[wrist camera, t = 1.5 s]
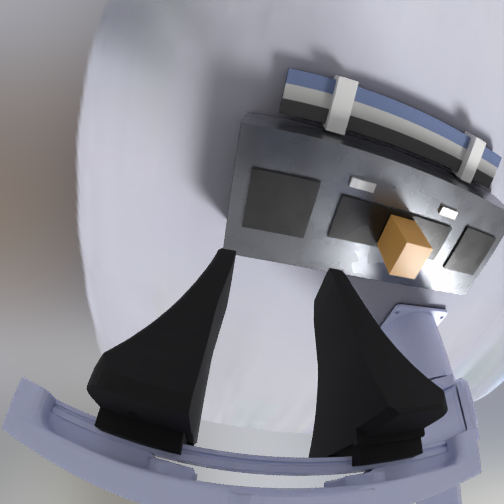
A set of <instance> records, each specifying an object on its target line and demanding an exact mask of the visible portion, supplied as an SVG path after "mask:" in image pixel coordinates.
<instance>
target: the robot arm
mask: <svg viewBox="0 0 504 504" xmlns="http://www.w3.org/2000/svg"><path fill="white" fill-rule="evenodd" d="M235 256H236V251H234V250H229V249H223V248H221V249H219V250H218V252H217V254H216V255H215V257H214V259H213V260H212V262H211V263H210V264H209V266H208V267H207V268H206V270H205V271H204V272H203V273H202V275H201V276H200V277H199V278H198V280H197V281H196V282H195V283H194V284H193V285H192V286H191V288H190V289H189V290H188V291H187V292H186V293H185V294H184V295H183V296H182V297H181V298H180V299H179V300H178V301H177V302H176V303H175V304H174V305H173V306H172V307H171V308H169V309H168V310H167V311H166V312H165V313H164V314H162V315H161V316H160V317H159V318H158V319H156V320H155V321H154V322H152V323H151V324H150V325H148V326H147V327H146V328H144V329H143V330H141V331H140V332H138V333H137V334H135V335H134V336H132V337H131V338H129V339H128V340H126V341H124V342H122V343H121V344H119V345H117V346H115V347H114V348H112V349H110V350H108V351H106V352H105V353H103V355H102V356H101V358H100V359H99V361H98V363H97V365H96V366H95V368H94V371H93V373H92V375H91V377H90V380H89V382H88V385H87V391H88V393H89V394H90V396H91V397H92V398H93V399H94V400H95V402H96V403H97V404H98V405H99V406H100V410H99V413H98V416H97V417H95V416H92V415H90V414H88V413H85V412H83V411H80V410H78V409H76V408H74V407H72V406H70V405H67V404H65V403H63V402H61V401H59V400H57V399H55V397H54V396H53V395H52V394H51V393H50V392H49V391H47V390H46V389H44V388H42V387H41V386H39V385H37V384H35V383H33V382H32V381H30V380H28V379H26V378H25V377H22V378H21V381H20V383H19V385H18V387H17V390H16V392H15V394H14V397H13V399H12V401H11V404H10V406H9V409H8V411H7V414H6V417H5V419H4V422H3V425H2V429H3V430H4V431H6V432H7V433H8V434H10V435H11V436H12V437H14V438H15V439H17V440H18V441H20V442H21V443H22V444H24V445H25V446H27V447H28V448H30V449H31V450H33V451H34V452H36V453H38V454H39V455H41V456H42V457H44V458H46V459H47V460H49V461H51V462H52V463H54V464H55V465H57V466H59V467H61V468H62V469H64V470H66V471H68V472H70V473H72V474H73V475H75V476H77V477H79V478H81V479H83V480H85V481H87V482H89V483H91V484H93V485H96V486H98V487H100V488H102V489H104V490H107V491H109V492H111V493H114V494H116V495H119V496H121V497H124V498H127V499H130V500H132V501H135V502H138V503H141V504H413V503H415V502H416V504H462V503H461V489H460V483H462V482H464V481H466V480H468V479H470V478H472V477H474V476H476V475H478V474H480V473H481V463H480V455H479V448H478V441H479V432H478V421H477V416H476V412H475V407H474V404H473V399H472V396H471V392H470V389H469V385H468V382H467V380H464V379H462V378H459V379H457V380H455V378H454V376H453V373H452V369H451V366H450V363H449V359H448V356H447V353H446V350H445V347H444V344H443V341H442V338H441V336H440V333H439V330H438V327H437V326H438V325H439V323H440V322H441V321H442V320H443V319H444V318H445V316H446V315H447V310H444V309H436V308H428V307H420V306H412V305H404V304H398V305H396V306H395V308H394V309H393V310H392V312H391V313H390V314H389V316H388V317H387V319H386V320H385V321H384V323H383V324H382V325H381V327H379V325H378V324H377V322H376V321H375V320H374V318H373V317H372V315H371V314H370V312H369V311H368V309H367V308H366V306H365V305H364V303H363V302H362V300H361V299H360V297H359V296H358V294H357V292H356V291H355V289H354V288H353V286H352V284H351V283H350V281H349V279H348V278H347V276H346V275H345V273H344V272H343V270H339V269H333V268H329V269H328V272H327V274H326V276H325V278H324V280H323V283H322V285H321V287H320V289H319V291H318V294H317V296H316V298H315V300H314V328H315V339H316V350H317V361H318V390H317V404H316V415H315V423H314V431H313V437H312V443H311V448H310V453H309V458H290V457H271V456H270V457H269V456H258V455H248V454H239V453H231V452H224V451H217V450H211V449H206V448H200V447H196V446H194V444H196V443H197V438H198V432H199V426H200V420H201V414H202V408H203V402H204V397H205V391H206V386H207V380H208V375H209V369H210V364H211V359H212V355H213V351H214V348H215V344H216V341H217V338H218V334H219V331H220V328H221V324H222V321H223V318H224V314H225V311H226V308H227V303H228V297H229V292H230V287H231V281H232V274H233V268H234V262H235ZM456 381H457V382H456ZM155 456H157V457H161V458H165V459H169V460H173V461H177V462H181V463H186V464H191V465H196V466H201V467H206V468H213V469H219V470H226V471H233V472H242V473H252V474H266V475H291V476H292V475H294V476H297V475H298V476H300V475H301V476H306V475H308V476H309V475H332V474H346V473H356V472H364V473H363V474H357V475H351V476H345V477H344V478H340V479H337V480H332V481H326V482H325V483H324V488H291V489H290V488H259V487H257V488H256V487H244V486H233V485H224V484H216V483H209V482H202V481H197V480H196V479H197V474H196V473H195V472H194V469H193V468H190V467H186V466H182V465H179V464H175V463H172V462H169V461H165V460H161V459H158V458H156V457H155Z"/></svg>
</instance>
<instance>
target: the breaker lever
mask: <svg viewBox="0 0 504 504" xmlns="http://www.w3.org/2000/svg"><path fill="white" fill-rule="evenodd" d="M377 245H378V248H379V250H380V253H381V255H382V258H383V260H384V263H385V265H386V268H387V270H388V273H389V275H394V276H400V277H405V278H410V279H415V278H416V276H417V275H418V273H419V272H420V270H421V268H422V267H423V265H424V264H425V262H426V260H427V259H428V257H429V255H430V254H431V252H432V250H433V248H432V247H431V245H430V243H429V242H428V240H427V239H426V237H425V235H424V234H423V232H422V231H421V229H420V228H419V226H418V225H417V223H416V222H415V221H413V220H409V219H406V218H402V217H399V216H396V215H392V214H391V215H390V218H389V220H388V222H387V224H386V226H385V228H384V231H383V233H382V235H381V237H380V239H379V241H378V243H377Z"/></svg>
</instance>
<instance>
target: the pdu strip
mask: <svg viewBox="0 0 504 504" xmlns="http://www.w3.org/2000/svg"><path fill="white" fill-rule="evenodd" d="M391 214H392V215H396V216H399V217H402V218H406V219H409V220H413V221H415V222H416V223H417V225H418V226H419V228H420V229H421V231H422V232H423V234H424V235H425V237H426V239H427V240H428V242H429V243H430V245H431V247H432V248H433V250H432V252H431V254H430V255H429V257H428V259H427V260H426V262H425V264H424V265H423V267H422V268H421V270H420V272H419V273H418V275H417V276H416V278H415V279H410V278H405V277H400V276H394V275H389V273H388V270H387V268H386V265H385V263H384V260H383V258H382V255H381V253H380V250H379V248H378V245H377V243H378V241H379V239H380V237H381V235H382V233H383V231H384V228H385V226H386V224H387V222H388V220H389V218H390V215H391ZM503 235H504V205H503V204H502V203H501V202H500V201H499V200H498V199H497V198H496V197H495V196H494V195H493V194H491V193H489V192H487V191H486V190H484V189H482V188H480V187H478V186H476V185H474V184H472V183H468V182H466V181H463V180H461V179H460V178H459V177H458V176H456V175H454V174H452V173H449V172H447V171H445V170H443V169H441V168H438V167H436V166H434V165H431V164H429V163H427V162H424V161H422V160H419V159H417V158H414V157H412V156H409V155H407V154H404V153H401V152H399V151H396V150H393V149H390V148H388V147H385V146H382V145H379V144H376V143H373V142H370V141H367V140H364V139H360V138H357V137H354V136H350V135H347V134H345V135H342V134H338V133H335V132H331V131H327V130H325V128H322V127H318V126H314V125H309V124H305V123H301V122H296V121H292V120H287V119H282V118H277V117H272V116H267V115H261V114H256V113H250V112H248V113H247V114H246V116H245V118H244V119H243V121H242V122H241V127H240V134H239V140H238V146H237V153H236V160H235V166H234V173H233V180H232V187H231V194H230V201H229V209H228V216H227V224H226V231H225V239H224V247H223V249H229V250H234V251H236V255H239V256H245V257H250V258H256V259H261V260H267V261H273V262H278V263H284V264H289V265H295V266H300V267H306V268H311V269H317V270H323V271H328V269H329V268H333V269H339V270H343V272H344V273H345V275H351V276H357V277H362V278H368V279H374V280H380V281H385V282H391V283H397V284H403V285H408V286H414V287H420V288H426V289H432V290H437V291H443V292H449V293H455V294H461V295H464V294H465V293H466V292H467V290H468V289H469V288H470V286H471V285H472V284H473V282H474V281H475V279H476V278H477V277H478V275H479V274H480V272H481V271H482V269H483V268H484V266H485V265H486V263H487V262H488V260H489V259H490V257H491V255H492V254H493V252H494V251H495V249H496V247H497V246H498V244H499V242H500V241H501V239H502V237H503Z"/></svg>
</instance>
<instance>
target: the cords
mask: <svg viewBox="0 0 504 504" xmlns="http://www.w3.org/2000/svg"><path fill="white" fill-rule="evenodd" d="M358 83H359V82H357V81H354V80H351V79H348V78H345V77H342V76H338V75H334V79H332V78H328V77H325V76H321V75H317V74H313V73H309V72H305V71H300V70H296V69H291V68H289V69H288V73H287V78H286V83H285V88H284V93H283V98H282V102H281V107H280V113H282V114H287V115H291V116H296V117H300V118H305V119H309V120H313V121H317V122H321V123H323V124H322V125H323V127H324V128H325V130H327V131H331V132H335V133H338V134H342V135H345V131H346V130H350V131H353V132H356V133H360V134H363V135H366V136H369V137H372V138H375V139H378V140H381V141H384V142H387V143H389V144H392V145H395V146H398V147H400V148H403V149H406V150H408V151H411V152H413V153H416V154H418V155H421V156H423V157H425V158H428V159H430V160H432V161H435V162H437V163H439V164H441V165H444V166H446V167H448V168H450V169H451V171H452V172H453V173H454V174H455V175H456V176H458V177H459V178H460V179H461V180H463V181H466V182H468V183H471V181H472V180H474V181H476V182H478V183H480V184H482V185H484V186H486V187H487V188H489V187H490V185H491V182H492V180H493V178H494V175H495V173H496V171H497V168H498V166H499V163H500V161H501V157H500V156H499V155H497V154H496V153H494V152H493V151H491V150H490V149H488V148H487V147H485V146H486V143H485V142H484V141H482V140H481V139H479V138H478V137H476V136H474V135H472V134H471V133H469V132H467V131H465V133H462V132H460V131H458V130H457V129H455V128H453V127H451V126H449V125H447V124H445V123H443V122H442V121H440V120H438V119H436V118H434V117H432V116H430V115H427V114H425V113H423V112H421V111H419V110H417V109H415V108H412V107H410V106H408V105H405V104H403V103H401V102H398V101H396V100H393V99H391V98H388V97H386V96H383V95H381V94H378V93H375V92H372V91H370V90H367V89H364V88H361V87H358Z"/></svg>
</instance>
